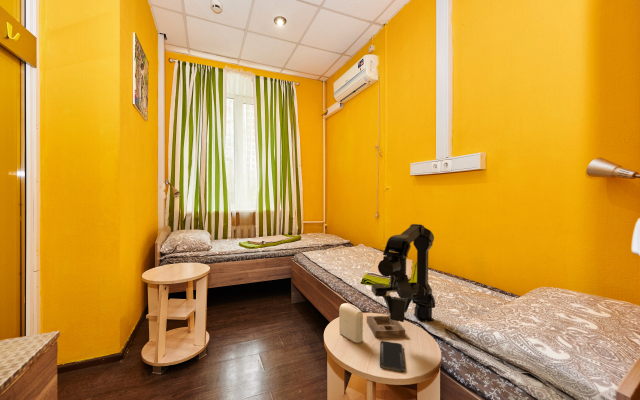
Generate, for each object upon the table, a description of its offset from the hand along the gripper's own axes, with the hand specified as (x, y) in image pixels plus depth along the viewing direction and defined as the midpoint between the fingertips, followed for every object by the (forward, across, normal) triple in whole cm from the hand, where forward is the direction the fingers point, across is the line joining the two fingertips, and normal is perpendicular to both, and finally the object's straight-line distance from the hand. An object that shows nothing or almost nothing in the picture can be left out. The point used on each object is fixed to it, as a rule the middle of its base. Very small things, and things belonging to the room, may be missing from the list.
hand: (397, 312), depth 94 cm
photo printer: (+12, -16, +6) cm, 21 cm away
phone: (+12, -5, -8) cm, 15 cm away
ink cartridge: (+3, 0, 0) cm, 3 cm away
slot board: (+12, -1, +10) cm, 16 cm away
